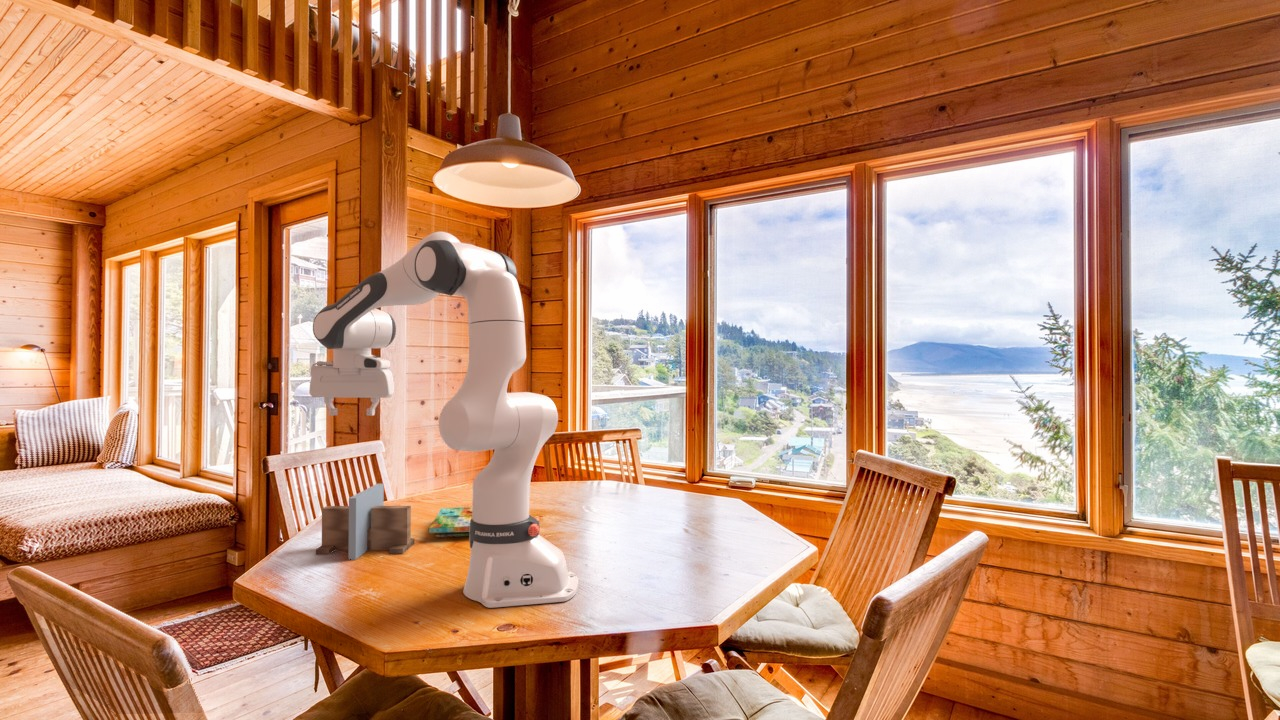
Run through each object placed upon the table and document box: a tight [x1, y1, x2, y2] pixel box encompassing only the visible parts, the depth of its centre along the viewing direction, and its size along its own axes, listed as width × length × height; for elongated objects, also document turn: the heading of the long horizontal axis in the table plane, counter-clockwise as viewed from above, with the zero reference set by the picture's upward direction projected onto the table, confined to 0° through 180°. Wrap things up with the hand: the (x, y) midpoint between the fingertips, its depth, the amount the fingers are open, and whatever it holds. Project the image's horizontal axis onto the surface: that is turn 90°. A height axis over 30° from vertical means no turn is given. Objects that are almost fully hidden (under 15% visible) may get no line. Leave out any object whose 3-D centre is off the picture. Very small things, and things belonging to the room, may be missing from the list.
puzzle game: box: [428, 506, 473, 538], centre depth 160 cm, size 12×5×20 cm
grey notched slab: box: [348, 483, 385, 561], centre depth 143 cm, size 16×2×14 cm, turn 2°
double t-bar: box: [315, 505, 415, 555], centre depth 143 cm, size 20×8×10 cm, turn 92°
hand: (351, 415), depth 153 cm, fingers open, 8 cm apart
